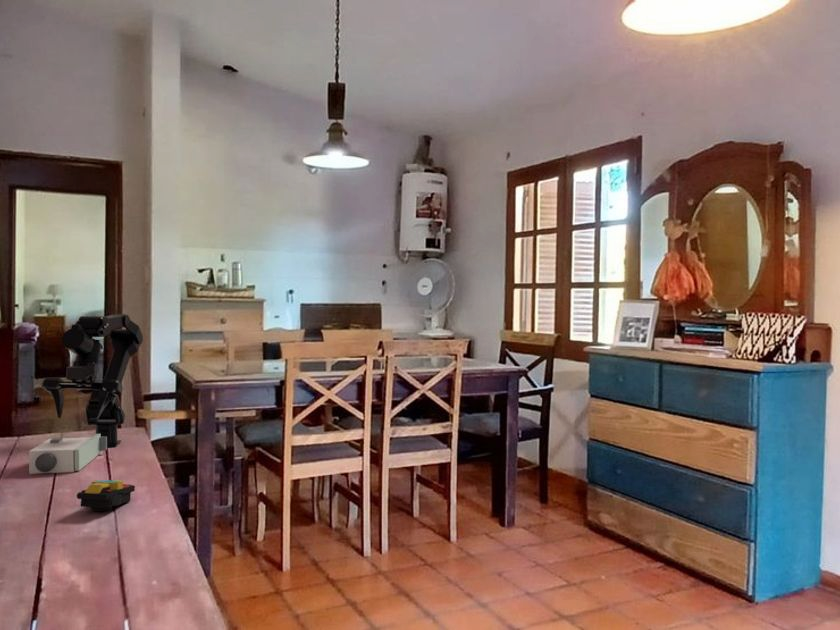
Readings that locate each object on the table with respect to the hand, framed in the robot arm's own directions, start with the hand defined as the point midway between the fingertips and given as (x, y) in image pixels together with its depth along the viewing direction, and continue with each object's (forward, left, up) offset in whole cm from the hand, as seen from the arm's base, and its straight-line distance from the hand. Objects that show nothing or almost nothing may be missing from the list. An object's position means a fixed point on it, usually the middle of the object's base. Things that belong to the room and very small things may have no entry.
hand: (78, 418), depth 184 cm
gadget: (+42, +18, -11) cm, 47 cm away
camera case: (+5, -3, -11) cm, 12 cm away
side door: (+3, +4, -11) cm, 12 cm away
